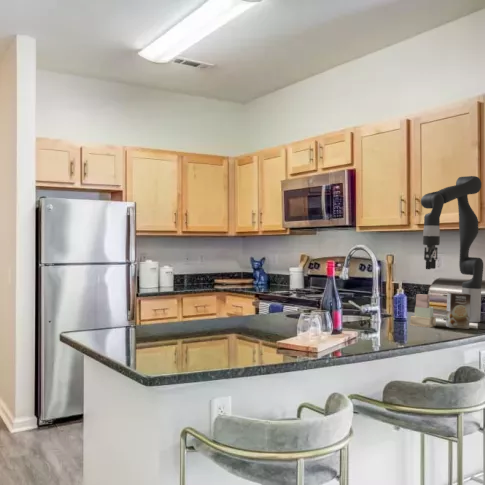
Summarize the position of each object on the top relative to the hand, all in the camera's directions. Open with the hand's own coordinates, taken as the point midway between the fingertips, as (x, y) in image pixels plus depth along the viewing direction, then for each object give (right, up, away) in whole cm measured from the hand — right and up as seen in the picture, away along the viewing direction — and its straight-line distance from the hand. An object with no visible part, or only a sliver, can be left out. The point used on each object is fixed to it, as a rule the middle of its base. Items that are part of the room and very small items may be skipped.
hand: (430, 268), depth 259 cm
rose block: (-5, -18, -2) cm, 19 cm away
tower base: (-4, -27, -2) cm, 28 cm away
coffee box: (+11, -28, -5) cm, 30 cm away
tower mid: (-4, -23, -2) cm, 23 cm away
